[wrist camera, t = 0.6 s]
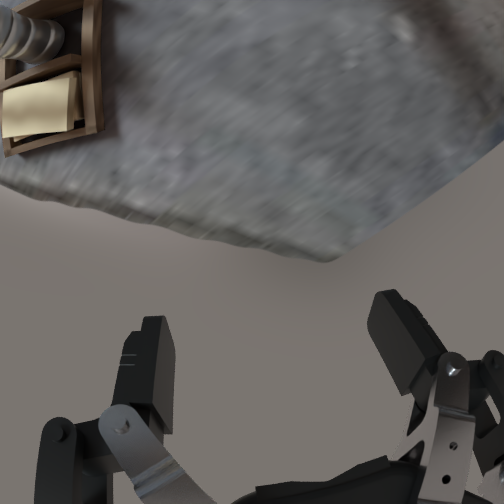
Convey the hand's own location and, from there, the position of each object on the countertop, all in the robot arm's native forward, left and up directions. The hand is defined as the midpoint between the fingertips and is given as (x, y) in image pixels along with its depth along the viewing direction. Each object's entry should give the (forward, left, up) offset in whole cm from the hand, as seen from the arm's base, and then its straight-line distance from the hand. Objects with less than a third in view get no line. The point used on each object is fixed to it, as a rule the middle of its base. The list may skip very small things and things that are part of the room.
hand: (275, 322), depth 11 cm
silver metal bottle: (-20, -24, -30) cm, 43 cm away
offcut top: (-11, -24, -27) cm, 37 cm away
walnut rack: (-15, -24, -30) cm, 41 cm away
